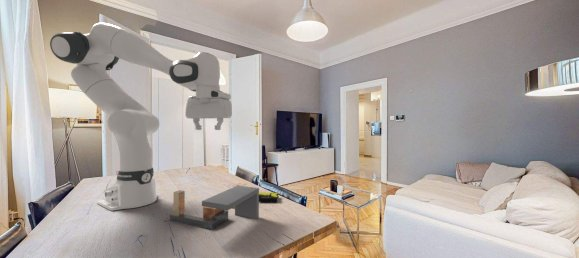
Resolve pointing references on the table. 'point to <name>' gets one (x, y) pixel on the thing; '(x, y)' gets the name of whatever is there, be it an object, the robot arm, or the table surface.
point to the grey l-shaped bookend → (237, 201)
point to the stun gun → (267, 197)
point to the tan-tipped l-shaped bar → (192, 220)
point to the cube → (210, 212)
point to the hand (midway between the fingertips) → (207, 129)
